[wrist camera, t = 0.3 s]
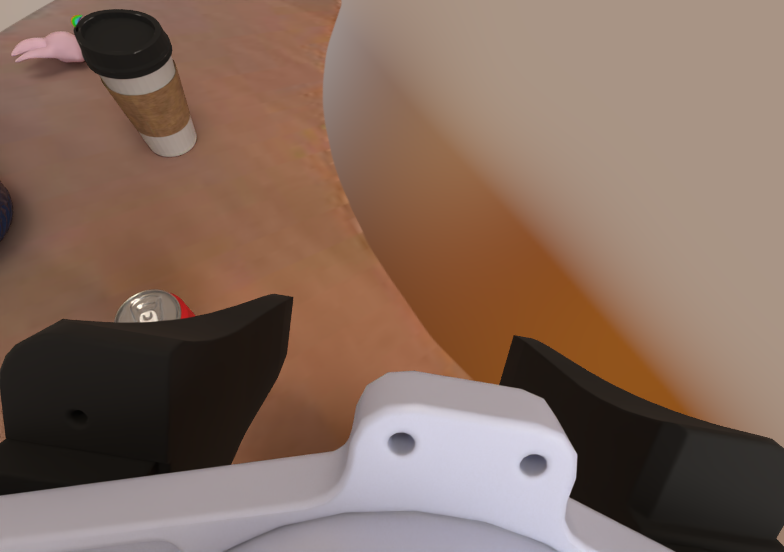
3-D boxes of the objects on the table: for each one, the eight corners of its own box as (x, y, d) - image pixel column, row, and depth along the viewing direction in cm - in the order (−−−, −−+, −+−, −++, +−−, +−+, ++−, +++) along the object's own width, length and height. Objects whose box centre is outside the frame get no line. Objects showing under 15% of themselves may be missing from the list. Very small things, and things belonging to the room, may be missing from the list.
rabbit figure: (128, 38, 66) (12, 57, 58) (115, -3, 61) (-13, 11, 53) (145, 61, 64) (27, 83, 56) (134, 20, 59) (3, 39, 51)
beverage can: (217, 330, 44) (176, 277, 34) (231, 375, 42) (191, 334, 32) (165, 349, 43) (105, 300, 32) (177, 397, 41) (116, 361, 30)
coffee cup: (140, 119, 57) (75, 3, 43) (206, 114, 58) (164, 1, 45) (135, 167, 53) (64, 57, 40) (207, 161, 54) (161, 53, 41)
